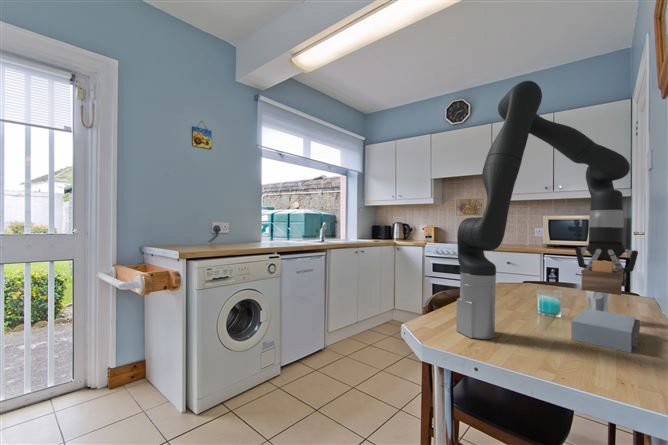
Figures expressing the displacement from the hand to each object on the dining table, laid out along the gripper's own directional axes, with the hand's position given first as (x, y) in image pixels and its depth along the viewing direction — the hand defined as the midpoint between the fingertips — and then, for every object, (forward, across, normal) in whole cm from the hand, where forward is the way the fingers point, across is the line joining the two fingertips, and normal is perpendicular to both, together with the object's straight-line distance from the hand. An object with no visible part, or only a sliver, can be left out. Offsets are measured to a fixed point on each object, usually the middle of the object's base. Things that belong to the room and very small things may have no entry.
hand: (604, 284), depth 90 cm
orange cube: (-3, 0, +6) cm, 7 cm away
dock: (+15, 0, 0) cm, 15 cm away
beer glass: (+15, +3, -20) cm, 25 cm away
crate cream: (-3, 0, -6) cm, 7 cm away
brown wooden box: (+1, 0, 0) cm, 1 cm away
